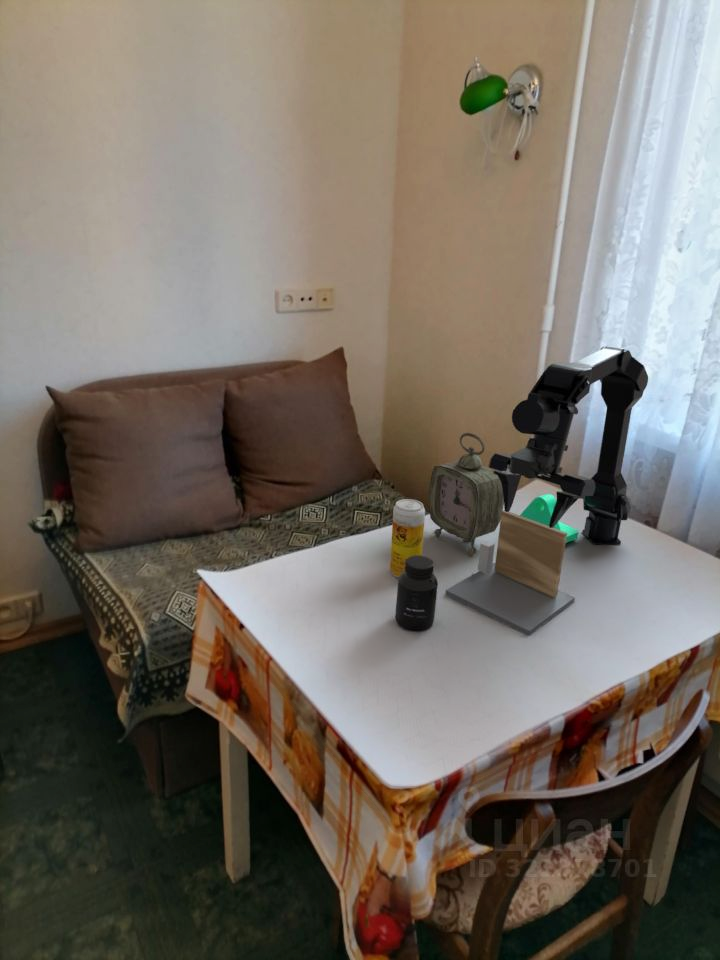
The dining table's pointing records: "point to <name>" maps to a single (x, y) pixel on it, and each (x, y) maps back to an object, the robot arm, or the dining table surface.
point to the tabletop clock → (466, 497)
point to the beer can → (406, 533)
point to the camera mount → (547, 514)
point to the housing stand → (507, 596)
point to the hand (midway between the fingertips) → (528, 519)
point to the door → (530, 552)
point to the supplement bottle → (416, 595)
